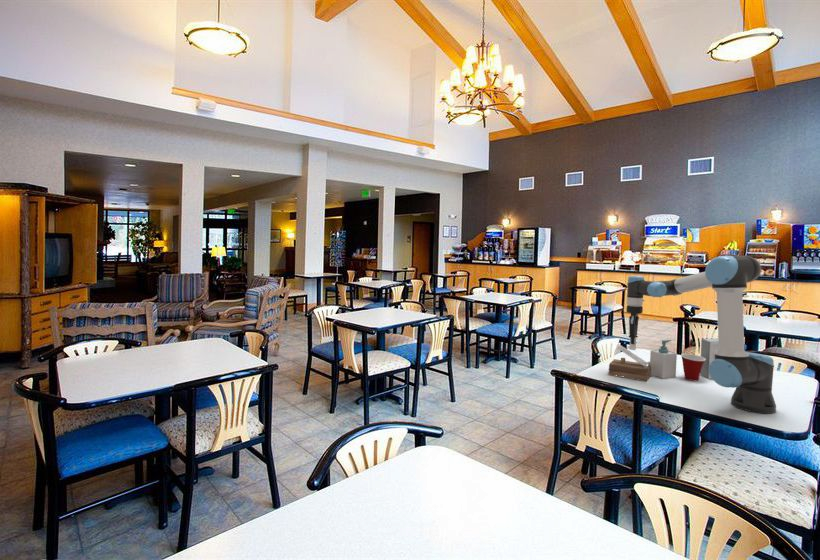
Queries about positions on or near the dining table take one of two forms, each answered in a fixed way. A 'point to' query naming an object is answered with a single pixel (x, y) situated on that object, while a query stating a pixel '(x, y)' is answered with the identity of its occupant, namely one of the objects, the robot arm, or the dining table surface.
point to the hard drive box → (708, 354)
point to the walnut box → (630, 369)
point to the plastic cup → (692, 366)
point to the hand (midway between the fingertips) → (632, 349)
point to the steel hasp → (633, 356)
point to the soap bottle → (663, 362)
